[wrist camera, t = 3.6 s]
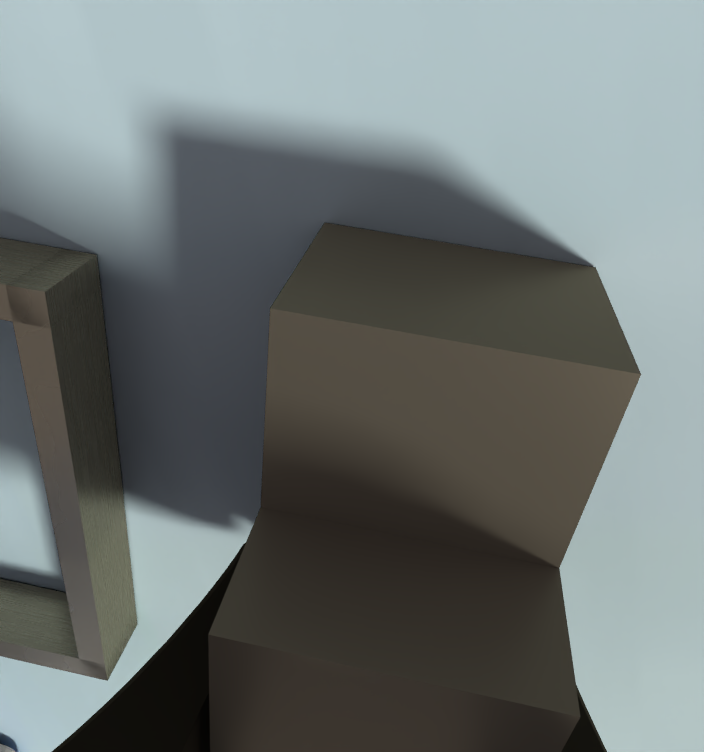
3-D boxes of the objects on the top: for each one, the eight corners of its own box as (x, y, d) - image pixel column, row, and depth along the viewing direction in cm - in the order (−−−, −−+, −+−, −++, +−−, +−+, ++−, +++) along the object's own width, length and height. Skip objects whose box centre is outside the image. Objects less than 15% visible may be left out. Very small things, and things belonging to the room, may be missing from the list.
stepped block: (486, 587, 13) (492, 877, 9) (294, 548, 13) (210, 808, 9) (595, 267, 9) (697, 505, 5) (324, 222, 10) (203, 410, 5)
